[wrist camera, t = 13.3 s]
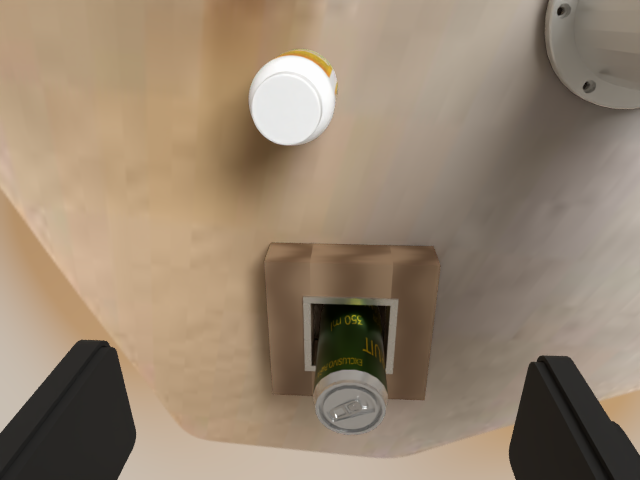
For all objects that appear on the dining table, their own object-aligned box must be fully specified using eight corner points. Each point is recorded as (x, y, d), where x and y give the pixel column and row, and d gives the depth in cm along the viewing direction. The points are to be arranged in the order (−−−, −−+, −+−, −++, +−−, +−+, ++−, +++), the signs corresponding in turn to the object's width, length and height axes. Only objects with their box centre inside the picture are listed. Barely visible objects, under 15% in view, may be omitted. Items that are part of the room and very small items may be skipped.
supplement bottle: (254, 64, 35) (221, 81, 26) (323, 36, 34) (312, 44, 25) (282, 133, 37) (260, 170, 28) (347, 109, 36) (346, 139, 27)
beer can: (339, 343, 45) (335, 446, 34) (310, 301, 43) (297, 396, 32) (389, 321, 44) (402, 422, 33) (362, 277, 42) (366, 368, 31)
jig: (433, 246, 40) (440, 266, 37) (419, 373, 46) (424, 400, 43) (270, 242, 41) (264, 261, 38) (277, 368, 47) (272, 394, 44)
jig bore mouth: (398, 298, 38) (398, 299, 38) (392, 372, 42) (392, 374, 42) (303, 295, 39) (303, 297, 39) (305, 369, 42) (304, 371, 42)
